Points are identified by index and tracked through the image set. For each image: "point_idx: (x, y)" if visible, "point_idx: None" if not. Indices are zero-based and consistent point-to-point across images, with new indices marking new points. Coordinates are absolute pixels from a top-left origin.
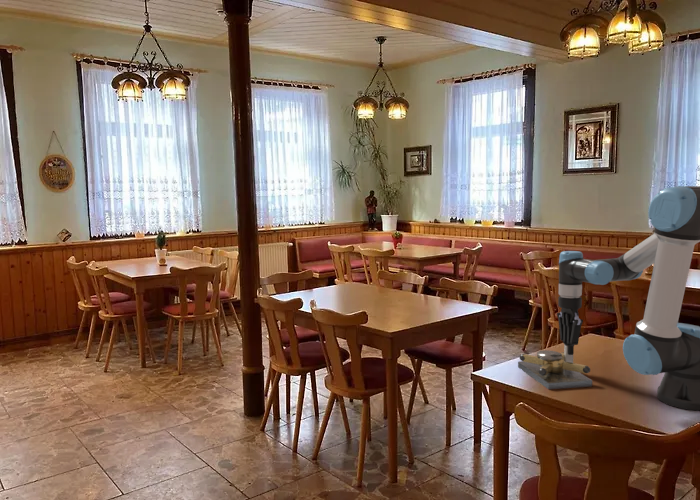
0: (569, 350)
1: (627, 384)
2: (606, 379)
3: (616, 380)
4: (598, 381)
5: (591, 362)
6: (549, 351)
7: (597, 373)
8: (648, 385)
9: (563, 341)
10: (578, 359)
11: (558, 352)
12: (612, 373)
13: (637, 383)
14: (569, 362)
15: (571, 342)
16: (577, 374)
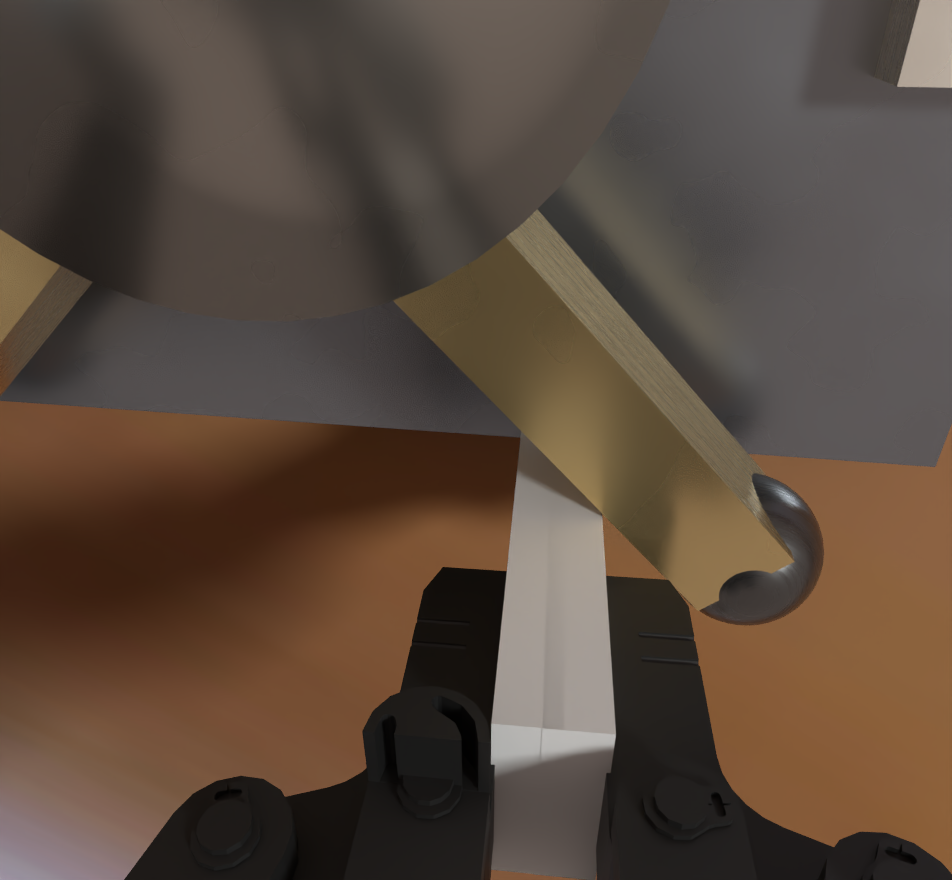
0: (427, 648)
1: (39, 698)
2: (177, 625)
3: (149, 684)
4: (103, 517)
5: (766, 806)
6: (494, 23)
7: (383, 657)
8: (36, 804)
9: (694, 823)
10: (942, 763)
11: (330, 302)
12: (364, 766)
13: (78, 772)
14: (4, 311)
15: (138, 876)
16: (68, 328)
